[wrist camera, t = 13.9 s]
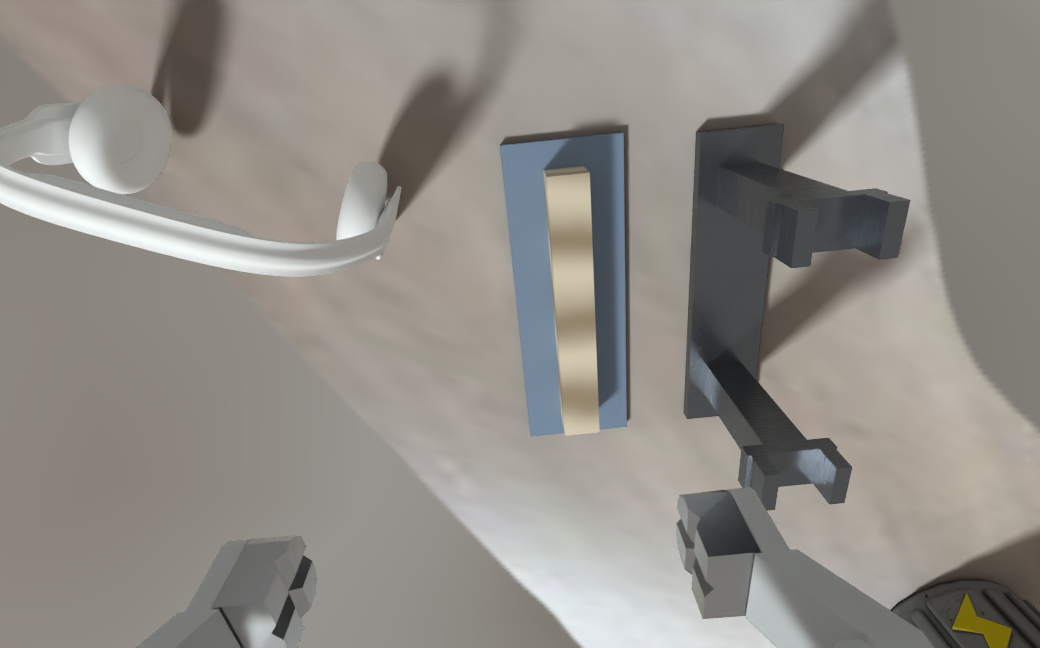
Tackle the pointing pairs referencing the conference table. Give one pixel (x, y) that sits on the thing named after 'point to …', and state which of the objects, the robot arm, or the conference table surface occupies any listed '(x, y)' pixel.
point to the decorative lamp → (972, 616)
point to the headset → (139, 162)
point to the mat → (535, 273)
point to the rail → (573, 295)
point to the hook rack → (741, 293)
